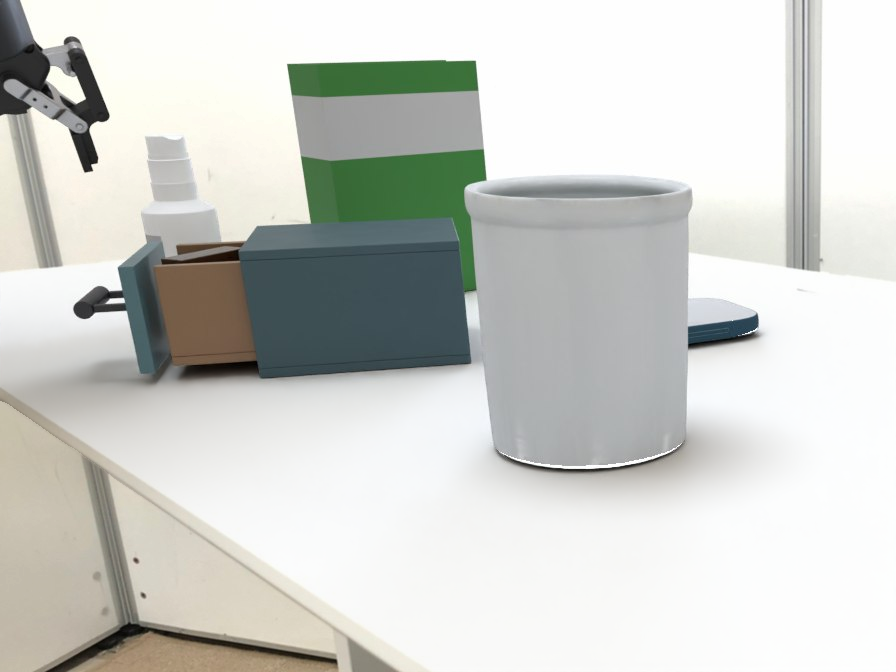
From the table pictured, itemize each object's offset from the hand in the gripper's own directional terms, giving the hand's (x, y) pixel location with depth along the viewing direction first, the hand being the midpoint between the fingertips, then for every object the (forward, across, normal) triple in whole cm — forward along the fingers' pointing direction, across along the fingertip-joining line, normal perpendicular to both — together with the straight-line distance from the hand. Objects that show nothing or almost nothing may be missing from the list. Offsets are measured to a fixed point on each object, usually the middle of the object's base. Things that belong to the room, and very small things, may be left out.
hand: (29, 177), depth 97 cm
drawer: (+14, -10, +10) cm, 20 cm away
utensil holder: (-2, -29, +45) cm, 53 cm away
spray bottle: (+24, -10, -6) cm, 26 cm away
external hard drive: (+13, -44, +23) cm, 51 cm away
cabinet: (+14, -22, +14) cm, 29 cm away
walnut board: (+13, -10, +9) cm, 19 cm away
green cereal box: (+28, -32, -8) cm, 43 cm away
